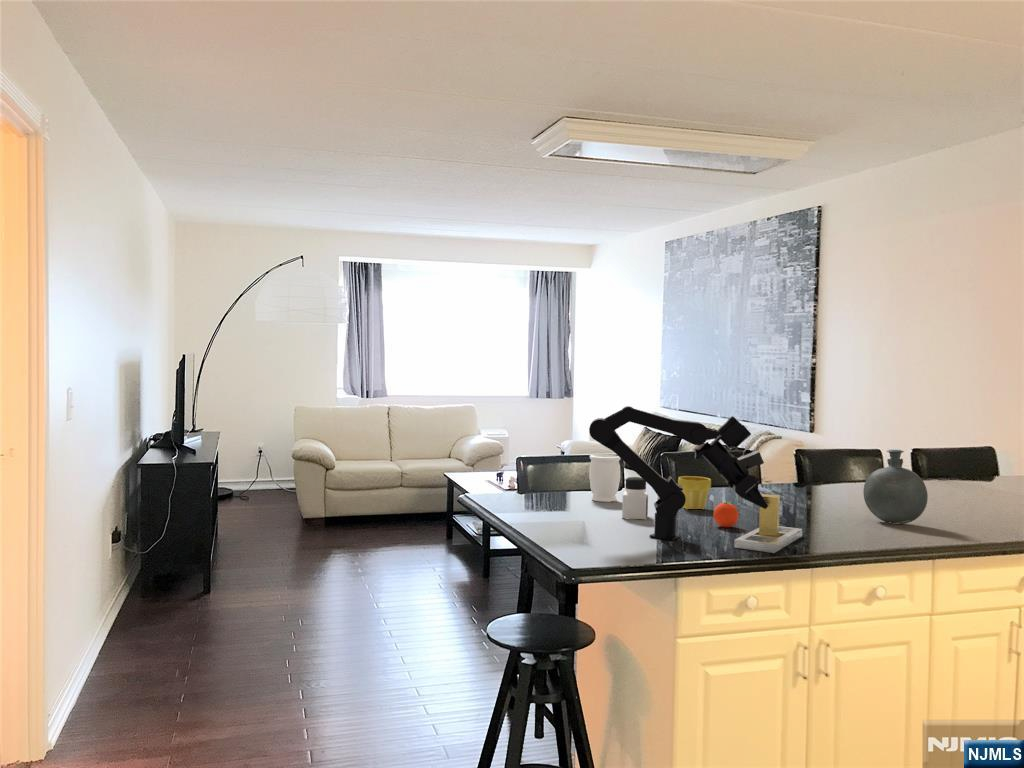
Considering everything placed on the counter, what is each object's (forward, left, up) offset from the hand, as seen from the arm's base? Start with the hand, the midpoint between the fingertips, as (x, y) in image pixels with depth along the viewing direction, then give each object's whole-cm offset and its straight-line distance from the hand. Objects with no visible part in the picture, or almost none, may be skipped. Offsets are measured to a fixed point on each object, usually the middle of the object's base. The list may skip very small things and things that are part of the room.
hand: (763, 504), depth 222 cm
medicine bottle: (+11, +41, -10) cm, 44 cm away
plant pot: (+38, +33, -10) cm, 51 cm away
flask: (+51, -24, -10) cm, 57 cm away
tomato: (+14, +14, -10) cm, 22 cm away
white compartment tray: (+1, -2, -10) cm, 10 cm away
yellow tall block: (+1, -1, -10) cm, 10 cm away
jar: (+34, +63, -10) cm, 72 cm away
